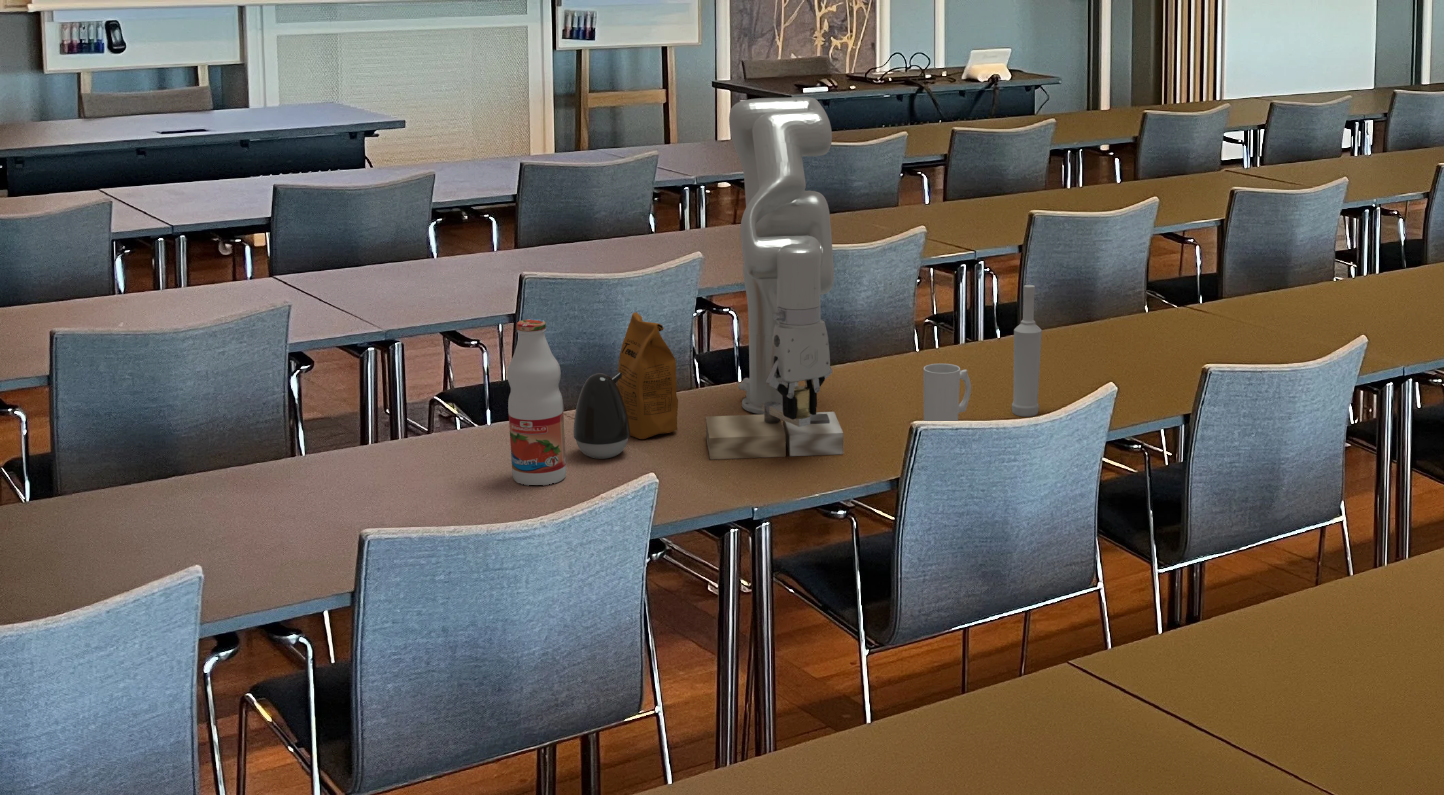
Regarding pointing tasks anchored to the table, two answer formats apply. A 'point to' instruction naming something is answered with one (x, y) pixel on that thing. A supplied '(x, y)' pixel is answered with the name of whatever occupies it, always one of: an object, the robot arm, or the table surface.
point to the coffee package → (648, 380)
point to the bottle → (1026, 359)
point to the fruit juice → (535, 409)
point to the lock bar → (802, 395)
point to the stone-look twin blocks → (772, 437)
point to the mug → (944, 392)
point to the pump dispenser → (601, 418)
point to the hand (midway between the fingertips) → (799, 414)
